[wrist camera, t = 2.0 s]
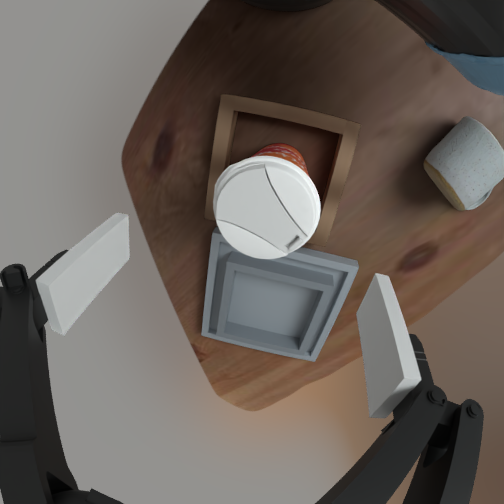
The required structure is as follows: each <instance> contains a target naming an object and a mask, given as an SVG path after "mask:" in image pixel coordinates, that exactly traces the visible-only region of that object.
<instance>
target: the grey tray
mask: <svg viewBox="0 0 504 504" xmlns="http://www.w3.org/2000/svg"><path fill="white" fill-rule="evenodd" d="M358 268H359V266H358V262H357V260H353V259H349V258H345V257H341V256H337V255H333V254H329V253H325V252H320V251H316V250H312V249H308V248H304V247H300V248H298V249H297V250H295V251H293V252H291V253H288V255H287V256H284V257H281V258H275V259H259V258H254V257H251V256H248V255H245V254H243V253H241V252H240V251H238V250H237V249H235V248H234V247H232V246H231V245H230V244H229V243H228V242H227V241H226V239H225V238H224V237H223V235H222V234H221V232H220V230H219V228H218V227H216V228H215V229H214V231H213V233H212V241H211V249H210V257H209V266H208V275H207V284H206V293H205V303H204V313H203V324H202V334H201V335H202V336H206V337H209V338H213V339H217V340H220V341H224V342H228V343H232V344H236V345H240V346H244V347H248V348H253V349H257V350H261V351H266V352H270V353H275V354H279V355H284V356H289V357H294V358H299V359H304V360H309V361H314V362H315V360H316V358H317V356H318V354H319V352H320V350H321V348H322V346H323V344H324V342H325V340H326V338H327V336H328V334H329V332H330V330H331V328H332V326H333V324H334V322H335V320H336V318H337V316H338V314H339V311H340V309H341V307H342V305H343V303H344V301H345V298H346V296H347V294H348V292H349V289H350V287H351V285H352V283H353V280H354V278H355V276H356V273H357V271H358Z"/></svg>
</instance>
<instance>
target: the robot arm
mask: <svg viewBox="0 0 504 504" xmlns="http://www.w3.org/2000/svg"><path fill="white" fill-rule="evenodd" d="M241 1H243V2H245V3H248V4H250V5H253V6H256V7H259V8H263V9H268V10H274V11H300V10H306V9H311V8H315V7H318V6H321V5H324V4H326V3H328V2H330V1H332V0H241ZM375 1H376V2H378V3H379V4H381V5H382V6H383V7H385V8H386V9H387V10H389V11H390V12H391V13H393V14H394V15H395V16H396V17H398V18H399V19H400V20H401V21H403V22H404V23H405V24H406V25H408V26H409V27H410V28H411V29H412V30H413V31H415V32H416V33H417V34H418V35H419V36H420V37H421V38H423V39H424V41H425V43H426V45H427V46H428V47H429V48H430V49H432V50H433V51H434V52H436V53H437V54H439V55H442V56H443V57H444V58H446V59H447V60H448V61H449V62H450V63H451V64H452V65H453V66H454V67H455V68H456V69H457V70H458V71H459V72H460V73H461V74H462V75H463V76H464V77H465V78H466V79H467V80H468V81H470V82H471V83H472V84H474V85H475V86H477V87H479V88H481V89H484V90H488V91H490V92H493V93H494V94H498V95H503V96H504V0H375ZM129 251H130V250H129V219H128V215H127V214H122V213H118V212H117V213H115V214H114V215H113V216H111V217H110V218H109V219H107V220H106V221H105V222H103V223H102V224H101V225H100V226H99V227H97V228H96V229H95V230H93V231H92V232H91V233H90V234H88V235H87V236H86V237H85V238H83V239H82V240H81V241H80V242H79V243H77V244H76V245H75V246H74V247H73V248H71V249H70V250H65V251H62V252H60V253H58V254H57V255H56V256H54V257H53V258H52V259H51V260H50V261H49V262H47V263H46V264H45V266H43V267H42V268H40V269H39V270H38V271H37V272H36V273H35V274H34V275H33V276H32V277H31V278H30V279H28V276H27V272H26V268H25V267H24V266H23V265H21V264H12V265H9V266H7V267H5V268H4V269H3V270H2V271H1V273H0V279H1V282H2V285H3V287H0V489H1V493H2V498H3V501H4V504H123V503H121V502H120V501H117V500H115V499H113V498H110V497H108V496H106V495H104V494H102V493H100V492H98V491H96V490H94V489H91V490H90V492H89V491H81V490H79V489H78V487H77V484H76V481H75V479H74V477H73V475H72V473H71V472H70V470H69V468H68V466H67V463H66V459H65V456H64V452H63V448H62V444H61V440H60V436H59V431H58V427H57V421H56V416H55V412H54V405H53V399H52V393H51V386H50V378H49V370H48V359H47V348H46V331H45V327H44V324H45V323H46V322H47V321H49V324H50V327H51V329H52V330H53V331H55V332H57V333H59V334H61V335H65V333H66V332H67V331H68V330H69V328H70V327H71V326H72V325H73V324H74V322H75V321H76V320H77V318H78V317H79V316H80V315H81V314H82V313H83V311H84V310H85V309H86V308H87V307H88V305H89V304H90V303H91V302H92V301H93V299H94V298H95V297H96V296H97V295H98V294H99V292H100V291H101V290H102V289H103V288H104V287H105V286H106V284H107V283H108V282H109V281H110V280H111V279H112V278H113V276H114V275H115V274H116V273H117V272H118V271H119V270H120V269H121V267H122V266H123V265H124V264H125V263H126V262H127V261H128V260H129V259H130V252H129ZM356 314H357V320H358V327H359V333H360V340H361V347H362V354H363V361H364V369H365V377H366V386H367V395H368V406H369V417H371V418H372V417H373V418H386V417H387V416H388V415H389V414H390V413H391V412H392V411H393V416H394V419H393V420H392V421H391V422H390V423H389V424H388V425H387V426H386V427H385V428H384V429H382V430H381V431H382V433H381V435H380V436H379V437H378V438H377V439H376V441H375V442H374V443H373V444H372V445H371V447H370V448H369V449H368V450H367V451H366V452H365V454H364V455H363V456H362V457H361V458H360V459H359V460H358V461H357V462H356V464H355V465H354V466H353V467H352V468H351V469H350V470H349V471H348V472H347V473H346V474H345V475H344V476H343V477H342V479H340V480H339V482H338V483H336V484H335V485H334V486H333V487H332V488H331V489H330V490H329V491H328V492H327V493H326V494H325V495H324V496H323V497H322V498H321V499H320V500H319V501H317V503H315V504H386V503H387V501H388V500H389V499H390V497H391V496H392V495H393V494H394V492H395V491H396V489H397V488H398V487H399V485H400V484H401V483H402V481H403V480H404V478H405V477H406V475H407V474H408V472H409V471H410V470H411V468H412V467H413V465H414V463H415V462H416V460H417V459H418V457H419V456H420V458H419V461H418V465H417V467H416V470H415V473H414V476H413V479H412V481H411V484H410V487H409V489H408V491H407V494H406V496H405V499H404V501H403V504H469V501H470V497H471V493H472V489H473V485H474V480H475V475H476V470H477V465H478V458H479V452H480V446H481V438H482V429H483V418H484V415H483V410H482V408H481V406H480V405H479V404H478V403H477V402H476V401H474V400H472V399H467V400H465V401H464V402H463V403H462V404H461V405H458V404H455V403H453V402H450V401H447V397H446V395H445V393H444V392H443V391H442V389H441V388H439V387H437V386H435V385H434V383H433V379H432V376H431V372H430V369H429V366H428V362H427V361H426V356H425V354H424V349H423V346H422V343H421V342H420V341H419V339H418V338H417V336H416V335H414V334H408V331H407V328H406V325H405V322H404V319H403V315H402V313H401V310H400V307H399V304H398V301H397V298H396V295H395V292H394V290H393V287H392V284H391V282H390V279H389V276H386V275H382V274H378V273H375V275H374V278H373V280H372V282H371V284H370V286H369V288H368V290H367V293H366V295H365V297H364V299H363V301H362V303H361V305H360V307H359V309H358V311H357V313H356ZM420 454H421V455H420Z"/></svg>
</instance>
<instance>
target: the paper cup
mask: <svg viewBox="0 0 504 504" xmlns="http://www.w3.org/2000/svg"><path fill="white" fill-rule="evenodd" d="M213 210H214V215H215V219H216V222H217V225H218V228H219V230H220V232H221V234H222V235H223V237H224V238H225V239H226V241H227V242H228V243H229V244H230V245H231V246H232V247H234V248H235V249H237V250H238V251H240V252H241V253H243V254H245V255H248V256H251V257H254V258H259V259H275V258H281V257H284V256H287V255H288V253H291V252H293V251H295V250H297V249H298V248H300V247H301V246H303V245H304V244H305V243H306V242H307V241H308V240H309V239H310V238H311V236H312V235H313V233H314V232H315V230H316V228H317V226H318V222H319V219H320V211H321V208H320V199H319V195H318V192H317V189H316V187H315V185H314V183H313V182H312V180H311V179H310V177H309V174H308V171H307V167H306V164H305V162H304V159H303V157H302V156H301V154H300V153H299V152H298V151H297V150H296V149H295V148H294V147H292V146H290V145H287V144H283V143H275V144H271V145H268V146H266V147H264V148H263V149H261V150H260V151H258V152H257V153H256V154H254V155H253V156H252V157H250V158H247V159H245V160H242V161H240V162H238V163H235V164H233V165H230V166H229V167H228V168H227V169H226V170H225V171H224V172H223V173H222V174H221V176H220V177H219V178H218V180H217V182H216V184H215V190H214V199H213Z"/></svg>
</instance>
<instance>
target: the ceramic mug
mask: <svg viewBox="0 0 504 504" xmlns="http://www.w3.org/2000/svg"><path fill="white" fill-rule="evenodd" d="M424 169H425V171H426V172H427V174H428V175H429V177H430V178H431V179H432V181H433V182H434V183H435V184H436V186H437V187H438V188H439V190H440V191H441V192H442V193H443V195H444V196H445V197H446V198H447V200H448V201H449V202H450V203H451V204H452V206H453V207H454V208H456V209H457V210H459V211H464V210H471V209H474V208H476V207H478V206H479V205H480V204H482V203H483V202H484V201H485V200H486V199H487V197H488V196H489V195H490V193H491V191H492V188H493V187H494V186H495V185H496V184H497V183H499V182H500V181H501V180H502V179H503V178H504V150H503V149H502V147H501V146H500V144H499V142H498V141H497V140H496V138H495V137H494V136H493V134H492V133H491V132H490V131H489V130H488V129H487V128H485V127H484V126H483V125H482V124H481V123H480V122H478V121H477V120H475V119H473V118H471V117H469V116H466V117H463V118H462V119H461V120H460V122H459V123H458V124H457V125H456V126H455V127H454V128H453V129H452V130H451V131H450V132H449V133H448V134H447V135H446V136H445V137H444V138H443V139H442V141H441V142H440V143H439V144H437V145H436V146H435V147H434V148H433V149H432V150H431V152H430V153H429V154H428V156H427V157H426V158H425V160H424Z"/></svg>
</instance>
